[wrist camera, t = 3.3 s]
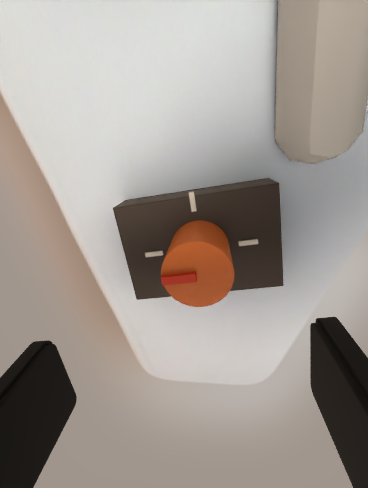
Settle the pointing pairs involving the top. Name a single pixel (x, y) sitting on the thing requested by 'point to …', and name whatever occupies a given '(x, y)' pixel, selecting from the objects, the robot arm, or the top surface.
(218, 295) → the dial knob
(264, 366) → the top surface
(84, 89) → the top surface
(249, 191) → the dial block
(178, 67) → the top surface
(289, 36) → the tube
